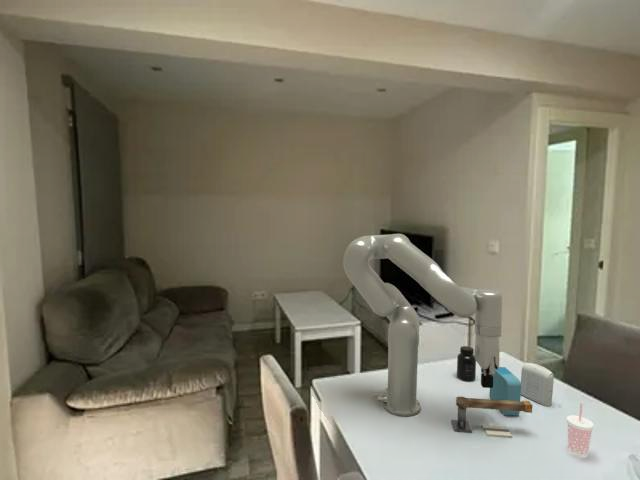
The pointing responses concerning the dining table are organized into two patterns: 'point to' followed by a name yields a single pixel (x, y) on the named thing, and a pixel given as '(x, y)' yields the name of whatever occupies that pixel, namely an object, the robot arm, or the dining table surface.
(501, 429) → the label tile
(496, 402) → the swing bar
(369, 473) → the dining table surface
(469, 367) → the supplement bottle
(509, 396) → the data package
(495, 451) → the dining table surface
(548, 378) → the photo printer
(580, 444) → the beverage cup
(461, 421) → the post
